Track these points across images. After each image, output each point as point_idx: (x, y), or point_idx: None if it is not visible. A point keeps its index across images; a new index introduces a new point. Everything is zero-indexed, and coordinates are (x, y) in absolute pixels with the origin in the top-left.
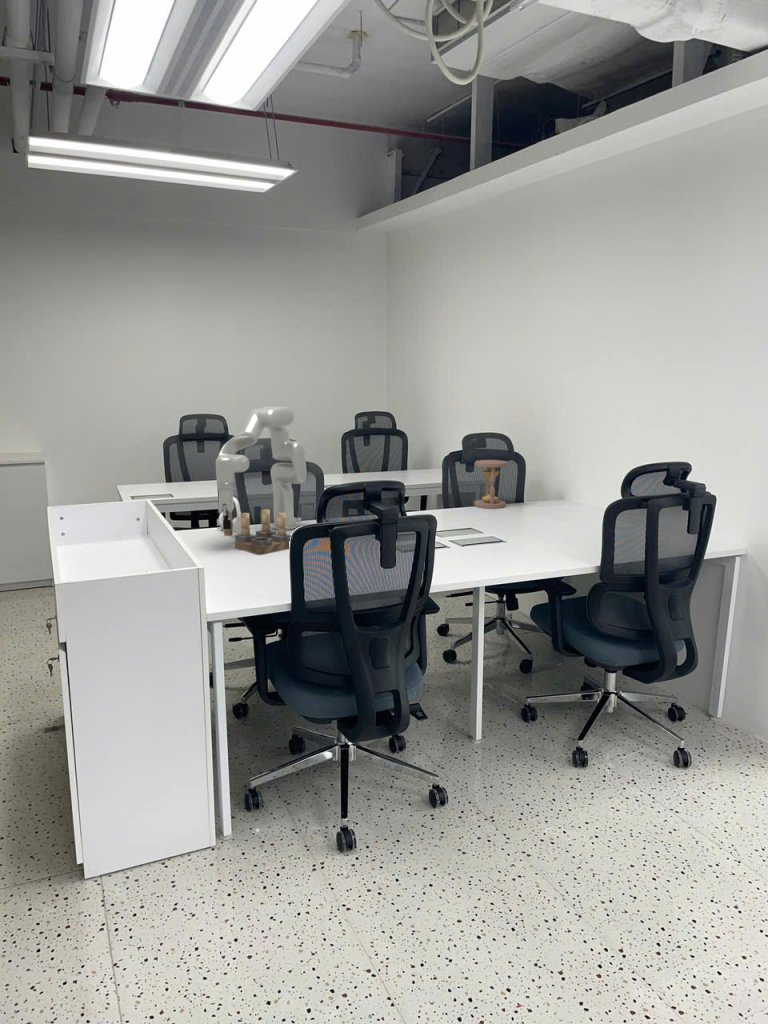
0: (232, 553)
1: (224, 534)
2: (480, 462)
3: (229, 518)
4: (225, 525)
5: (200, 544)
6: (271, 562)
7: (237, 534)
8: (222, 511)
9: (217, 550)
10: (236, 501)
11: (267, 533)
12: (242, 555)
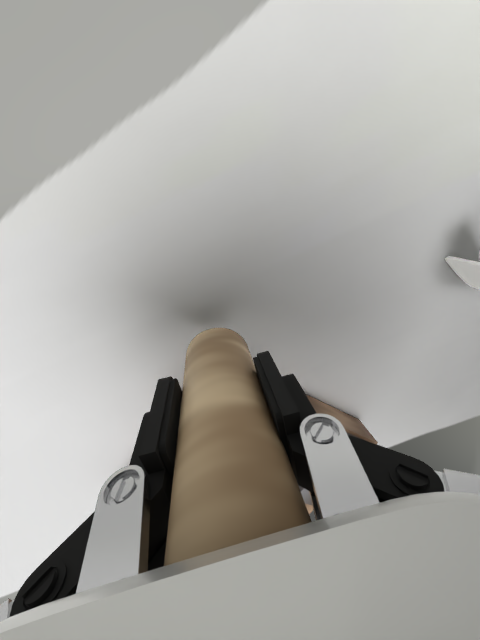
0: (95, 389)
1: (194, 341)
2: None
3: (162, 543)
4: (143, 432)
5: (254, 85)
6: (28, 562)
7: (461, 265)
8: (266, 546)
9: (127, 288)
10: None
11: (304, 501)
12: (79, 442)
